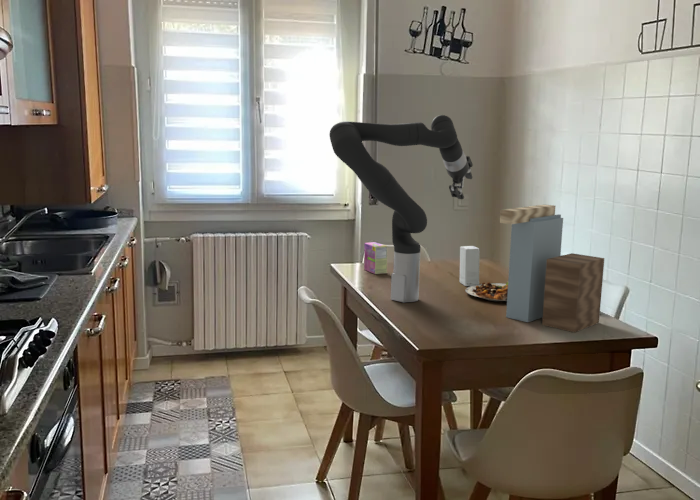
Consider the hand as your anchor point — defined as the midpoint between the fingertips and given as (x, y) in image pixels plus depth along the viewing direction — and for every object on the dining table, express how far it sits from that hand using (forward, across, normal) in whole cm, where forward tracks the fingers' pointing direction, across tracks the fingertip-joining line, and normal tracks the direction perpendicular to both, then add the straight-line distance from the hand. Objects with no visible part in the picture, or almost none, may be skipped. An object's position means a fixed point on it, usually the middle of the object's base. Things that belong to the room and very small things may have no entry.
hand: (465, 188), depth 247 cm
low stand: (+11, +36, +47) cm, 60 cm away
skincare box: (+42, +19, -1) cm, 46 cm away
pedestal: (+14, +35, +33) cm, 50 cm away
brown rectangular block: (-10, +13, +28) cm, 33 cm away
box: (+44, +23, -42) cm, 65 cm away
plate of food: (+32, +24, +17) cm, 43 cm away
